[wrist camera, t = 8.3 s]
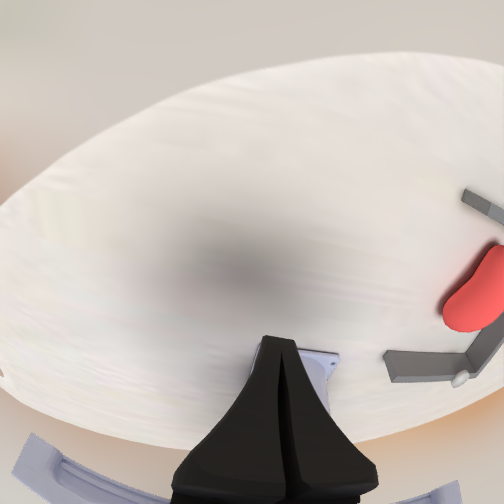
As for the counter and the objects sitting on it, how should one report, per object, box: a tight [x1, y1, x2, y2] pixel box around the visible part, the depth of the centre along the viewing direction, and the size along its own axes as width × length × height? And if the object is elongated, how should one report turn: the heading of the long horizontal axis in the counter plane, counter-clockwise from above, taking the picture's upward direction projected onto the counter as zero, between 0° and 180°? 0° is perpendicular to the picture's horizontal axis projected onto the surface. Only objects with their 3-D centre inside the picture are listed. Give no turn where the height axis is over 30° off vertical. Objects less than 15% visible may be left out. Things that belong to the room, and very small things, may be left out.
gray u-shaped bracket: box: [383, 189, 504, 388], centre depth 18 cm, size 19×14×4 cm
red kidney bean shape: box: [443, 245, 504, 332], centre depth 17 cm, size 5×9×6 cm, turn 136°
